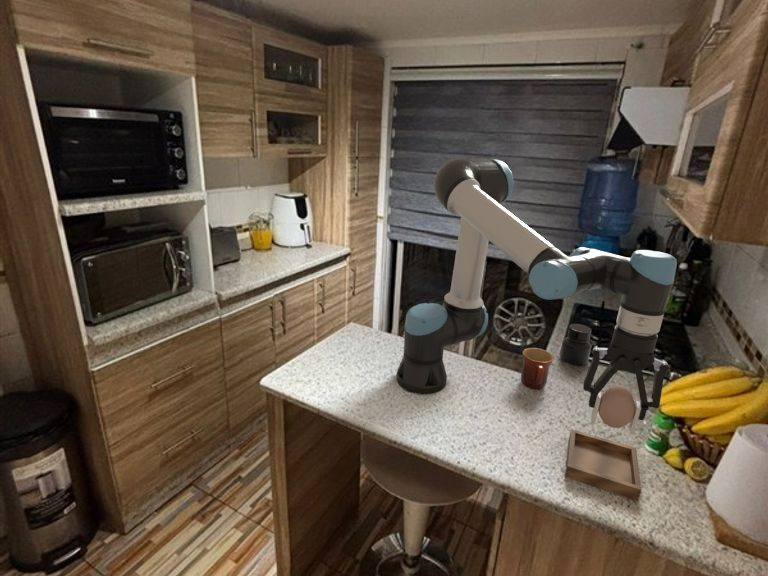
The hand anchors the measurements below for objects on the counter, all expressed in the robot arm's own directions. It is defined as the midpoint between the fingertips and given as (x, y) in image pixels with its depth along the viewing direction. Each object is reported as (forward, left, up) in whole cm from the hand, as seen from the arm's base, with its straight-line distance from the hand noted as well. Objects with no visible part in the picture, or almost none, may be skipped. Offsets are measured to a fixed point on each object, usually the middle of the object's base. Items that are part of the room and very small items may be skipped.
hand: (611, 424), depth 91 cm
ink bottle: (-8, +52, -12) cm, 54 cm away
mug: (-18, +27, -12) cm, 35 cm away
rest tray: (0, 0, -12) cm, 12 cm away
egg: (0, 0, 0) cm, 0 cm away
